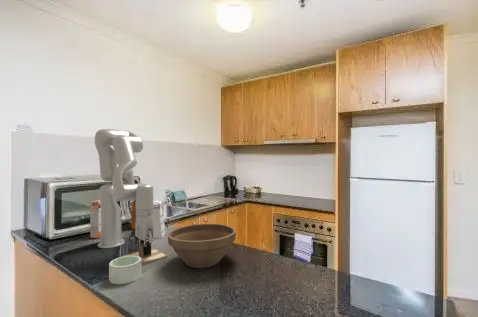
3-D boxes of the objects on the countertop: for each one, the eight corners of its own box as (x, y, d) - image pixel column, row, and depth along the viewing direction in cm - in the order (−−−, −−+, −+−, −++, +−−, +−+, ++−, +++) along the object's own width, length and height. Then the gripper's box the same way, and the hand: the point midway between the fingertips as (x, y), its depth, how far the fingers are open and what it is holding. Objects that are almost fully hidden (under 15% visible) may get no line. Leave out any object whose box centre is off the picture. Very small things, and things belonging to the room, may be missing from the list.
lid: (123, 257, 113) (123, 244, 113) (153, 250, 122) (153, 237, 122) (135, 267, 103) (135, 252, 103) (167, 257, 112) (166, 244, 112)
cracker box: (98, 238, 141) (98, 201, 141) (89, 238, 142) (89, 201, 142) (115, 232, 155) (115, 197, 155) (107, 231, 156) (107, 197, 156)
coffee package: (154, 225, 169) (154, 193, 169) (142, 230, 157) (142, 195, 157) (141, 224, 172) (141, 192, 172) (128, 229, 160) (128, 195, 160)
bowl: (105, 277, 94) (105, 260, 94) (134, 268, 101) (134, 253, 101) (115, 287, 86) (115, 269, 86) (145, 277, 93) (145, 261, 93)
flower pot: (155, 262, 107) (155, 231, 107) (206, 245, 128) (206, 219, 128) (196, 284, 88) (196, 246, 88) (249, 260, 108) (249, 229, 109)
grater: (147, 233, 151) (147, 200, 151) (165, 232, 152) (165, 199, 152) (142, 238, 140) (142, 202, 141) (162, 238, 141) (161, 202, 142)
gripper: (129, 211, 116) (129, 251, 116) (144, 216, 104) (144, 260, 104) (145, 209, 121) (145, 247, 121) (161, 213, 109) (161, 256, 109)
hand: (145, 253), depth 112 cm, fingers closed on lid, 4 cm apart
